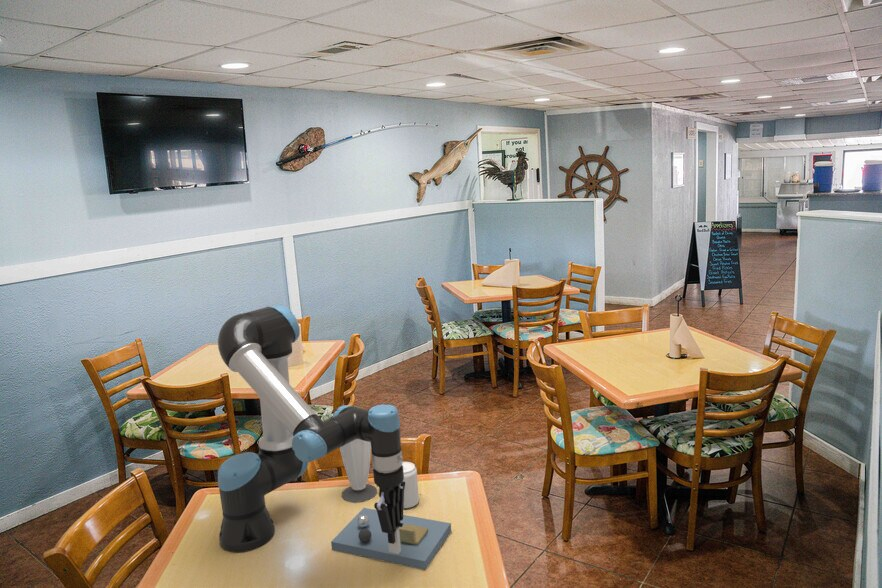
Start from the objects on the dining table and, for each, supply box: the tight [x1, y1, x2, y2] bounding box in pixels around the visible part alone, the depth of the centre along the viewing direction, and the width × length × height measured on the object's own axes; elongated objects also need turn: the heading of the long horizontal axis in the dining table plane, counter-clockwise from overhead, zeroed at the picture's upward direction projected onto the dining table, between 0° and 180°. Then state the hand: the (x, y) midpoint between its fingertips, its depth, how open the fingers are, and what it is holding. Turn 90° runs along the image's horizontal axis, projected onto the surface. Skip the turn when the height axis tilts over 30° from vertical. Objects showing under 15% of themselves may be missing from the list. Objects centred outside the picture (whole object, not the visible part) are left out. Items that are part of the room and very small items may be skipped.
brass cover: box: [399, 524, 428, 545], centre depth 167 cm, size 7×7×4 cm
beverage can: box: [402, 461, 420, 509], centre depth 188 cm, size 8×8×12 cm
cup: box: [339, 439, 378, 504], centre depth 194 cm, size 12×12×22 cm
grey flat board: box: [331, 507, 452, 571], centre depth 170 cm, size 28×18×2 cm, turn 68°
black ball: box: [358, 529, 371, 542], centre depth 166 cm, size 4×4×4 cm
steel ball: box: [357, 515, 369, 528], centre depth 173 cm, size 4×4×4 cm
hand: (395, 551), depth 158 cm, fingers closed
